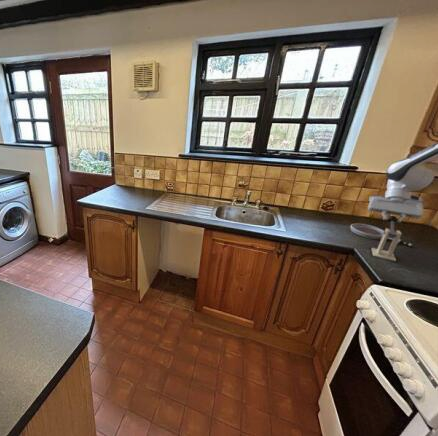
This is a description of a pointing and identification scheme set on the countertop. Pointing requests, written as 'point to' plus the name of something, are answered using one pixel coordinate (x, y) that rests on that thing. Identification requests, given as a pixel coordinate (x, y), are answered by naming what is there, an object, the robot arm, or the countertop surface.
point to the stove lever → (392, 226)
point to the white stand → (389, 253)
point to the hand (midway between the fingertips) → (392, 220)
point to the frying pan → (370, 232)
